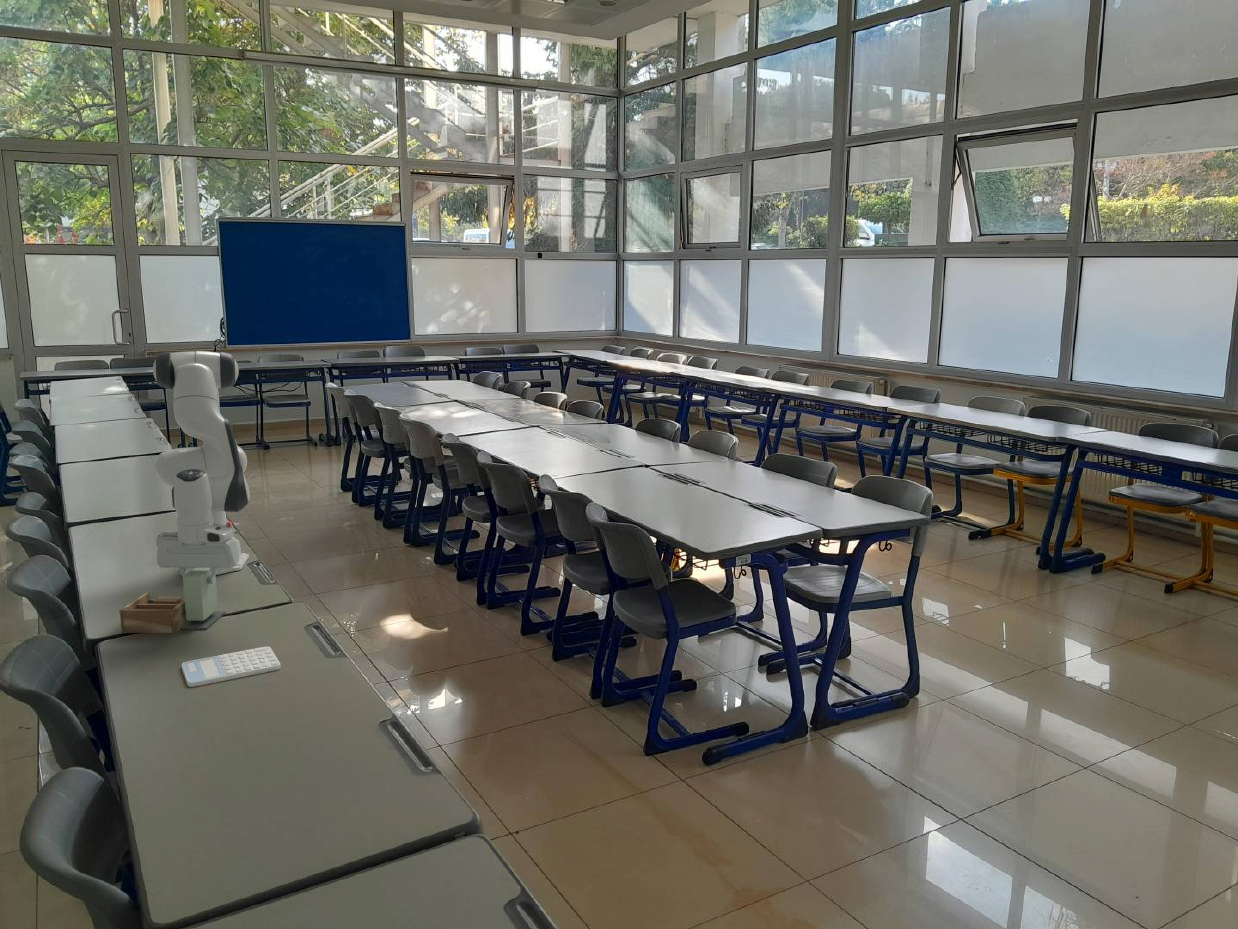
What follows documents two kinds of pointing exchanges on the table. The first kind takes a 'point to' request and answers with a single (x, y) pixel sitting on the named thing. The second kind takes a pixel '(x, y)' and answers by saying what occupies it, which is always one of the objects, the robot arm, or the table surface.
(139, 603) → the rack
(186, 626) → the mat
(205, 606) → the sage green thick block
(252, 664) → the calculator
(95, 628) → the table surface
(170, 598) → the offcut upper
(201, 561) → the robot arm
